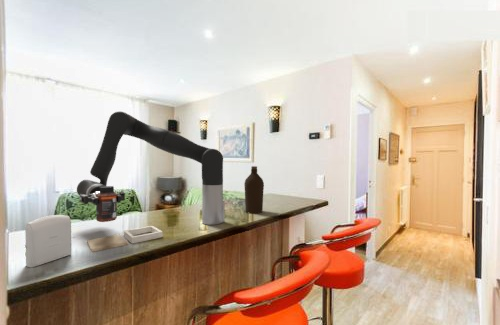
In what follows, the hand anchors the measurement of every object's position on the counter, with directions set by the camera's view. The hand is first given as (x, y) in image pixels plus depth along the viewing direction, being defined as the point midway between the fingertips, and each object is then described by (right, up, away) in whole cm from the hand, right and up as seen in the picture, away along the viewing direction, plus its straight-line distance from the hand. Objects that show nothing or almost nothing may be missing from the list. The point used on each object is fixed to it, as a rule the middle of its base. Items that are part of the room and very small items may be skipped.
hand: (108, 200), depth 79 cm
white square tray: (+7, -15, +9) cm, 19 cm away
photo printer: (-10, -15, -12) cm, 21 cm away
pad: (-2, -15, +2) cm, 15 cm away
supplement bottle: (-2, -7, +2) cm, 8 cm away
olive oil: (+49, -15, +54) cm, 74 cm away
